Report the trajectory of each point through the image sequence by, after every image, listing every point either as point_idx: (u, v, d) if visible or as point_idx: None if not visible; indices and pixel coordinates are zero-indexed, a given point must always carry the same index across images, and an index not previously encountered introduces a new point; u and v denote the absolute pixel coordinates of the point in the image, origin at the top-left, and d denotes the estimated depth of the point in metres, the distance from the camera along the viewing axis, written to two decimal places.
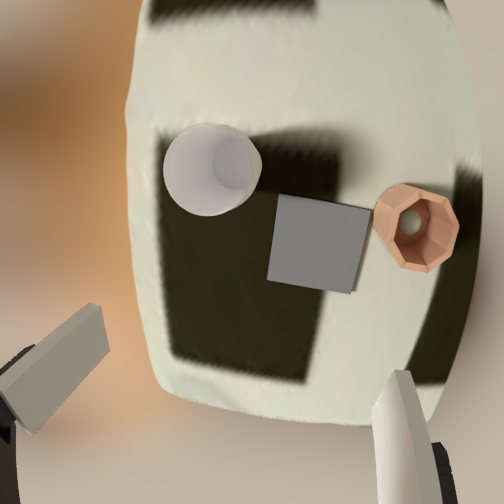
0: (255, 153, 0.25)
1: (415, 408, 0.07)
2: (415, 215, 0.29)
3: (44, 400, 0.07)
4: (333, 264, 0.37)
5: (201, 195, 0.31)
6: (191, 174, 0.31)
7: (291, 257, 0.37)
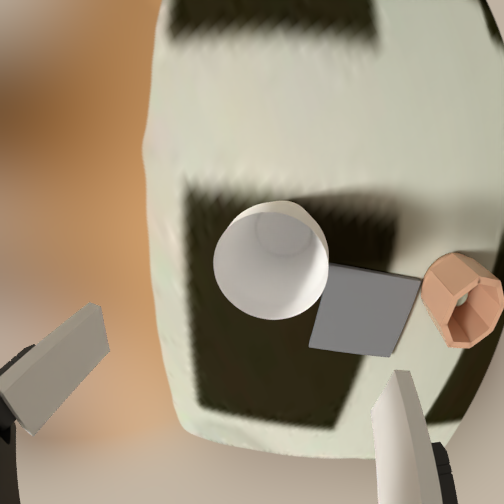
0: (326, 245, 0.22)
1: (415, 408, 0.07)
2: None
3: (44, 400, 0.07)
4: (377, 332, 0.33)
5: (249, 276, 0.28)
6: (236, 249, 0.27)
7: (336, 327, 0.34)
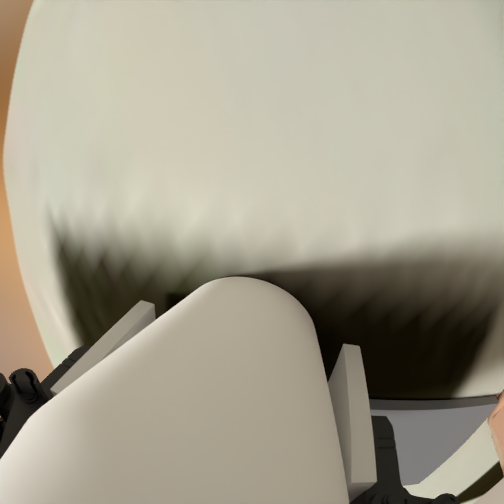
0: None
1: (358, 379, 0.09)
2: None
3: None
4: (410, 468, 0.14)
5: None
6: None
7: None
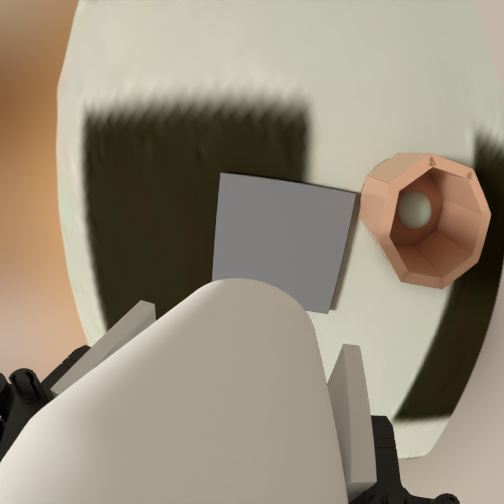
0: None
1: (358, 379, 0.09)
2: (423, 199, 0.19)
3: None
4: (302, 272, 0.26)
5: None
6: None
7: (241, 262, 0.27)
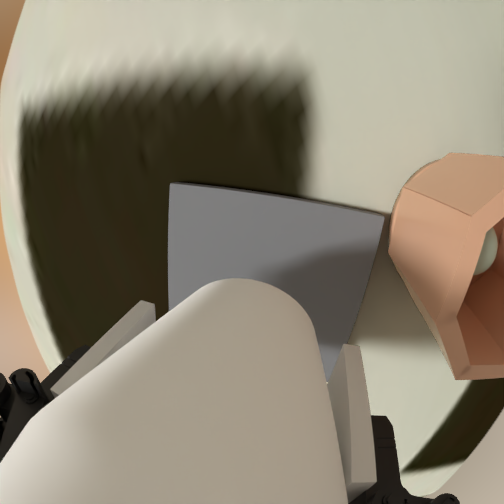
0: None
1: (358, 379, 0.09)
2: (490, 231, 0.10)
3: None
4: None
5: None
6: None
7: None
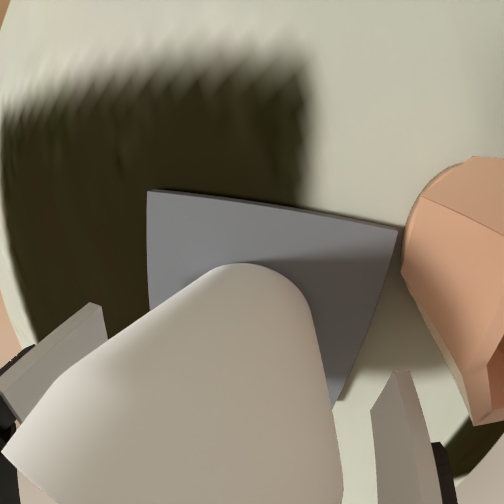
0: None
1: (415, 408, 0.07)
2: None
3: None
4: None
5: None
6: None
7: None
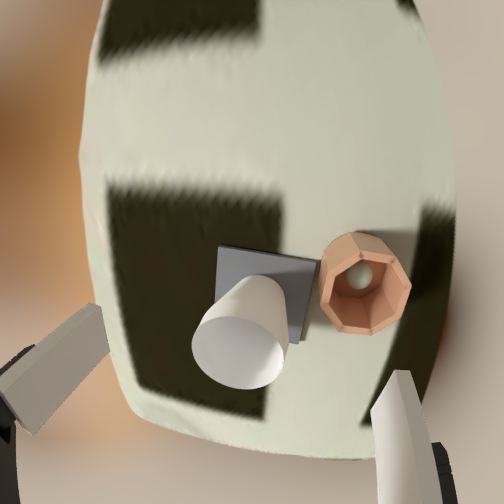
0: (285, 334, 0.25)
1: (415, 408, 0.07)
2: (364, 270, 0.29)
3: (44, 400, 0.07)
4: None
5: (226, 345, 0.31)
6: (215, 324, 0.31)
7: None
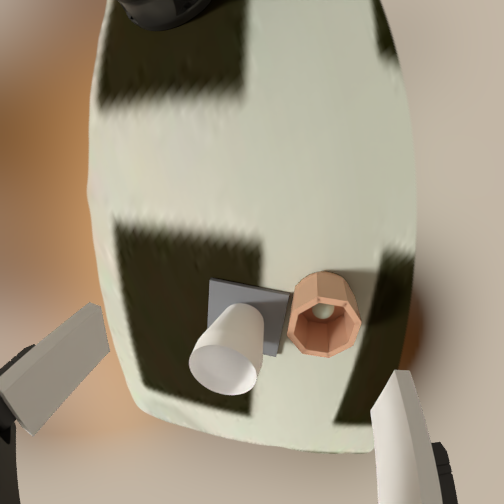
0: (259, 356, 0.33)
1: (415, 408, 0.07)
2: (326, 305, 0.36)
3: (44, 400, 0.07)
4: None
5: (216, 359, 0.39)
6: None
7: None
